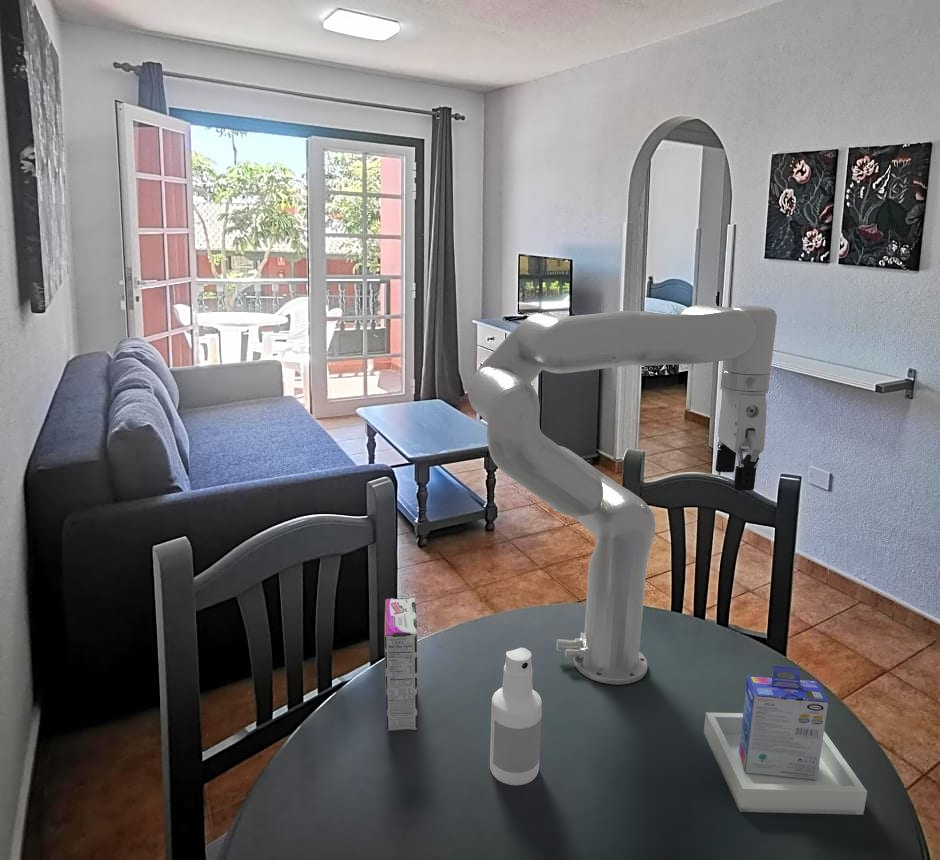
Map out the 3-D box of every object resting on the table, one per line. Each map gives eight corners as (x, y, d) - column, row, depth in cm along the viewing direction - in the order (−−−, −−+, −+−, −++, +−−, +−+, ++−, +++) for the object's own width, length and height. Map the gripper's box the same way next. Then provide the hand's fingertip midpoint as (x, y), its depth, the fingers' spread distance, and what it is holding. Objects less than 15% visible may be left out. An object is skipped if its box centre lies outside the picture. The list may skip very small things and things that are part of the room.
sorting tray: (739, 811, 97) (742, 788, 96) (703, 732, 112) (705, 712, 111) (863, 814, 97) (867, 791, 96) (809, 735, 112) (813, 714, 111)
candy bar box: (385, 689, 121) (384, 597, 117) (416, 688, 122) (416, 596, 118) (384, 733, 111) (383, 633, 107) (418, 731, 111) (418, 632, 107)
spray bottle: (505, 793, 99) (509, 673, 95) (480, 761, 105) (484, 647, 101) (548, 777, 102) (554, 660, 98) (522, 747, 108) (527, 636, 104)
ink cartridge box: (807, 754, 107) (821, 665, 103) (819, 781, 102) (834, 688, 98) (736, 747, 108) (747, 658, 105) (744, 774, 103) (756, 681, 99)
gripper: (788, 392, 115) (775, 498, 119) (749, 373, 131) (738, 466, 136) (739, 391, 115) (727, 496, 119) (706, 372, 132) (697, 465, 136)
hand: (733, 480), depth 127 cm, fingers open, 9 cm apart
